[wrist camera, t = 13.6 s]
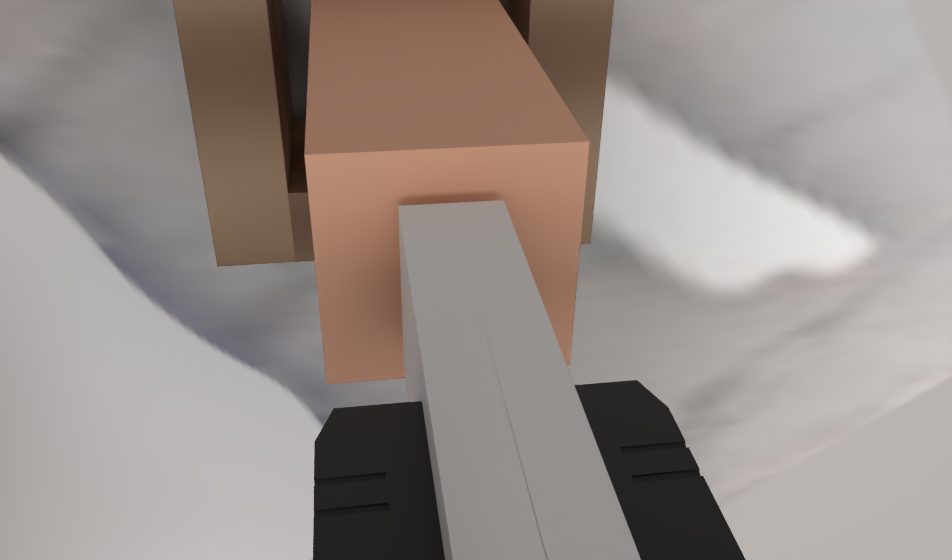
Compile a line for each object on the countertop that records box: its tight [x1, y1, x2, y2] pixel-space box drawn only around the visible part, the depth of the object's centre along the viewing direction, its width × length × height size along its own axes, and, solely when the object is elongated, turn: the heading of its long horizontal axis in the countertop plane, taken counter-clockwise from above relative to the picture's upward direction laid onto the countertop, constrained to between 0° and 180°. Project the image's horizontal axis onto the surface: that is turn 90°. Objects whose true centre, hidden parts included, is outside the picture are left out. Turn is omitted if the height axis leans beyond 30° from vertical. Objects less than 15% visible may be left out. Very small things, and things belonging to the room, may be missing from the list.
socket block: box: [173, 0, 614, 266], centre depth 23 cm, size 10×10×5 cm
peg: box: [304, 0, 590, 384], centre depth 19 cm, size 4×4×14 cm
